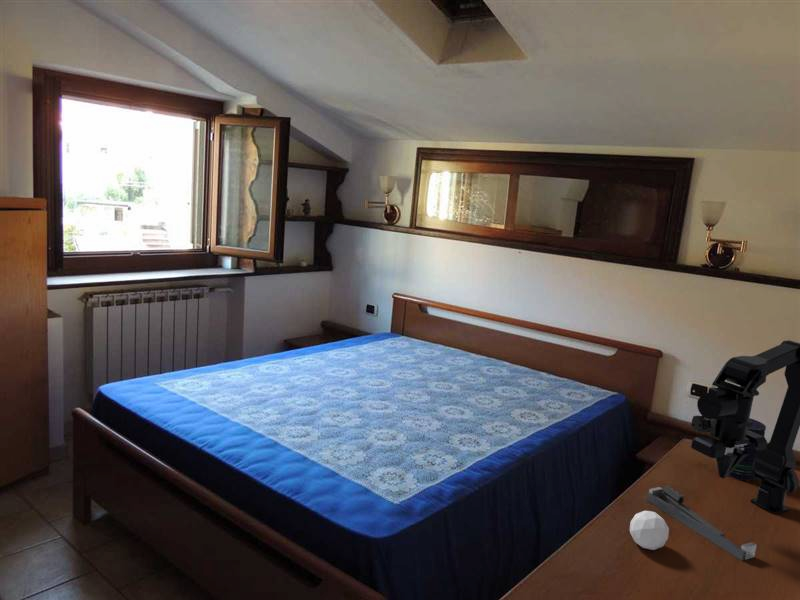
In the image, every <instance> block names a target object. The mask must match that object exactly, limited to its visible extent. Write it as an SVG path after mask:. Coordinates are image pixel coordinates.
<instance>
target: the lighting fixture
mask: <svg viewBox="0 0 800 600" xmlns="http://www.w3.org/2000/svg"><path fill="white" fill-rule="evenodd" d="M661 499H662V500H664V501H665V502H667V503H669V504H670V505H672V506H673V507H675V508H677V509H678V510H680V511H682V512H683V513H685V514H686V515H688V516H690V517H691V518H693V519H695V520H696V521H698V522H700V523H701V524H703V525H704V526H706V527H708V528H709V529H711V530H713V531H714V532H716V533H717V534H719V535H721V536H722V537H724V538H725V536H726V533H723V532H722V531H721V530H719V529H718V528H716V527H715V526H714V525H712V523H710V522H709V521H707V520H705V519H704V517H701V515H699V514H697V513H696V512H694V511H693V510H692V509H691V508H690V507H688V506H686V505H685V504H683V503H684V502H685V497H684V495H682V494H681V493H680V492H678V491H677V490H676V488H673V487H671V485H664V487H663V491H662V497H661Z"/></svg>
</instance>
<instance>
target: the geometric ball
mask: <svg viewBox="0 0 800 600" xmlns="http://www.w3.org/2000/svg"><path fill="white" fill-rule="evenodd" d="M629 523H630V524H629V532H630V535H631V537H632V539H633V541H634V542H635V543H636V544H637V545H639V546H640V547H641V548H643V549H647V550H652V551H655V550H657V549H660V548H663V547H664V546H665V544H666V542H667V540H668V539H669V534H670V532H669V531H670V528H669V526H668V524H667V522H666V521H665V519H664V518H663V517H662V516H660V515H659V514H658V513H657V512H655V511H651V510H643V511H640V512H637V513H635V515H634V516H633V518H632V519H631V520H630V522H629Z"/></svg>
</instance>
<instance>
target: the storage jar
mask: <svg viewBox="0 0 800 600" xmlns="http://www.w3.org/2000/svg"><path fill="white" fill-rule="evenodd" d="M749 421H752V422H753V424H752V426H750V427H747V430H750V431H752V432H754V433H757V434H759V435H761V436H764V437H765V435H766V434H765V433H766V431H767V426H766V425H765V424H764V423H762V422H761V421H759V420H756V419H753V418H750V417H749ZM765 438H766V437H765ZM743 447H744V451H746V452H748V453H749V455H747V456H746V457H745V458H744V459H743V460H742V461H741V462H740V463H739V464H738V465H737V466H736V467H735V468H734V469H733V471H732V472H731V473H730V474H729V475H728V476H729V477H728V476H727V477H728V478H730V477H732V478H731V479H733V478H735V479H734V480H737V479H742V480H752V481H754V480H756V478H755V477H753V460H754V458H755V457H756V454H757V450H756V448H755V445H754V444H748V445H743ZM716 469H717V470H718V466H716ZM753 479H754V480H753ZM742 480H741V481H742Z"/></svg>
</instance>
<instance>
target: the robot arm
mask: <svg viewBox="0 0 800 600" xmlns="http://www.w3.org/2000/svg"><path fill="white" fill-rule="evenodd" d="M784 368H785V369H784ZM781 369H784V374H783V375H784V378H785V381H786V385H787V389H786V392H785V395H784V397H783V401H782V403H781V404H782V405H781V407H780V410H779V414H778V415H777V416H778V417H777V420H776V423H775V425H774V428H773V430H772V434H771V437H770V440H769V442H768V441H767V439H766V437H764V436H765V435H764V436H761V435H759V434H757V433H754V432H752V431H750V430H747V427H750V426H752V424H753V422H752V421H749V418H750V416H751V412H752V407H753V403H754V397H757V396H760V392H759V391H758V390H757V389H758V388H759V387H760V386H762V385H763V384H765V383H766V380H767V377H768V376H769V375H771V374H772V373H775V372H777V371H779V370H781ZM712 386H714V387H708V390H707V392H705V393H703V394H701V395H700V396H699V398H698V399H697V402H696V403H697V410H698V412H699V414H700V415H693V417H692V419H691V423H690V425H691V428H692V429H693V430H695V432H696V433H698V434H699V433H709V436H708V435H701V436H700V435H699V436H695V437H693V438H691V443H690V448H691V449H693V450H695V451H696V452H699V453H701V454H702V455H704V456H706V457H709V458H712V459H716V465H717V466H718V469H717V471H718V476H719V478H721V479H726V478H727V477H728V475H729V474H730V473H731V472H732V471H733V469H734V468H735V467H736V466H737V465H738V464H739V463H740V462H741V461H742V460H743V459H744V458H745V457H746V456H747V455H749V453H748V452H746V451H744V447H743V445H748V444H754V445H755V448H756V450H757V454H756V457H755V458H754V460H753V477H755V479H758V480H761V481H760V483H759V488H758V490H757V491H758V493H757V497H754V498H751V499H750V501H749V502H751V503H753V504H755V505H757V506H759V507H760V508H762V509H764V510H766V511H768V512H769V513H772V514H778V513H782V512H786V511H790V510H791V507H789V506H787V505H785V502H786V498H787V497H786V496H787V493H795V492H796V490H797V489H798V487H799V485H800V479H799V477H798V475H797V474H796V471H795V468H796V464H797V460H796V457H795V454H794V451H793V447H794V444H795V441H796V439H797V436H798V433H799V430H800V342H797V341H793V340H790V339H789V340H788V339H787V340H783V341H782V342H781V343H780V344H778V345H776V346H774V347H771V348H769V349H766V350H765V351H762V352H760V353H758V354H755V355H738V356H734V357H731V358H730V359H728V360H727V361H726V362H725V364H724V365H723V367H722V368H721V369H720V371H719V372H718V374H717V376H716V377H715V379H714V381H712ZM715 438H716V439H715ZM717 466H716V467H717Z"/></svg>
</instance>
